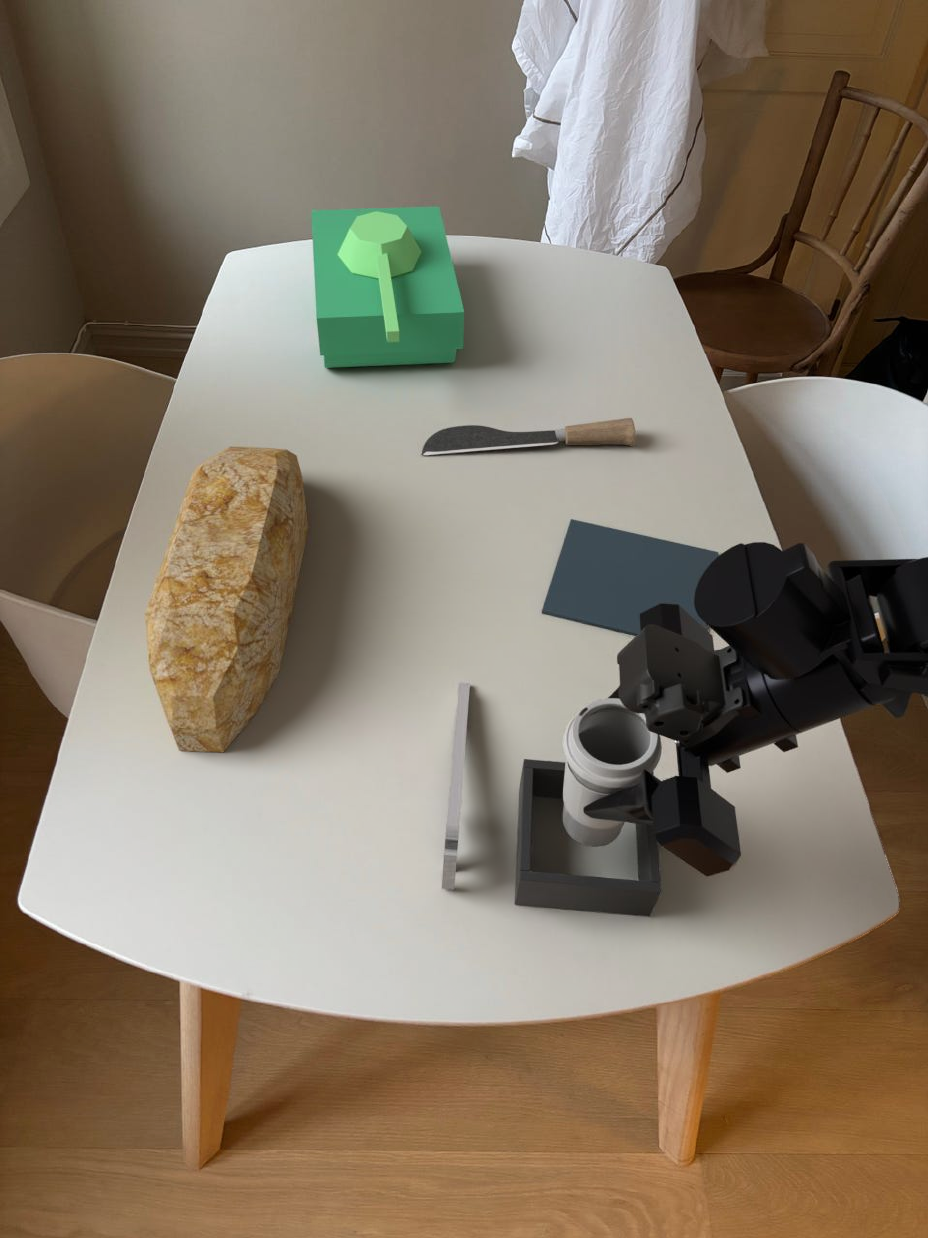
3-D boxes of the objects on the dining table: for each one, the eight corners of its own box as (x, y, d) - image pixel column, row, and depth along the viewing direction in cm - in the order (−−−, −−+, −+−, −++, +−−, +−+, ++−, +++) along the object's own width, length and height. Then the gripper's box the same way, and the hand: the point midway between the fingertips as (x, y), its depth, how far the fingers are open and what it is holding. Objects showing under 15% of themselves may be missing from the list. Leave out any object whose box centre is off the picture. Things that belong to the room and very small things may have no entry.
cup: (584, 766, 76) (605, 675, 67) (653, 814, 73) (684, 727, 64) (530, 825, 72) (544, 738, 63) (600, 878, 70) (626, 796, 61)
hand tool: (417, 419, 110) (626, 402, 112) (419, 440, 113) (624, 423, 114) (421, 447, 107) (637, 429, 108) (422, 468, 109) (634, 451, 110)
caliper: (454, 893, 74) (458, 857, 69) (441, 892, 74) (443, 855, 69) (469, 686, 87) (473, 643, 82) (458, 685, 87) (461, 642, 82)
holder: (643, 797, 80) (653, 769, 76) (650, 917, 73) (661, 892, 70) (519, 787, 80) (523, 758, 77) (514, 905, 73) (519, 879, 70)
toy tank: (315, 326, 103) (308, 182, 126) (324, 417, 113) (316, 268, 135) (474, 319, 105) (439, 179, 128) (470, 409, 114) (438, 264, 137)
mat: (717, 554, 100) (718, 551, 99) (702, 652, 91) (703, 649, 90) (570, 521, 102) (571, 518, 102) (541, 613, 93) (541, 610, 93)
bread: (219, 476, 105) (204, 402, 97) (317, 481, 105) (310, 407, 97) (136, 748, 81) (107, 678, 74) (262, 754, 81) (247, 685, 74)
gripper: (699, 514, 61) (517, 614, 69) (731, 759, 49) (506, 843, 57) (786, 604, 67) (608, 686, 75) (835, 843, 54) (616, 908, 63)
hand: (586, 769), depth 67 cm, fingers closed on cup, 7 cm apart
